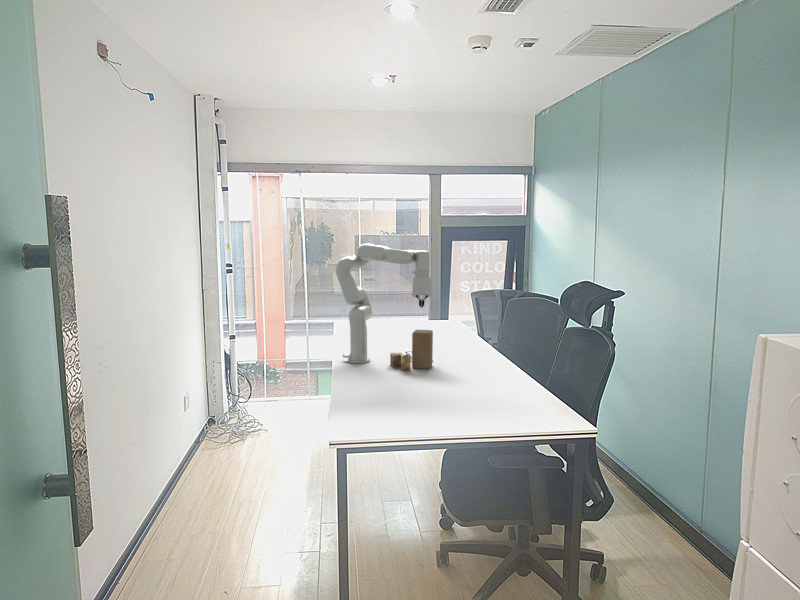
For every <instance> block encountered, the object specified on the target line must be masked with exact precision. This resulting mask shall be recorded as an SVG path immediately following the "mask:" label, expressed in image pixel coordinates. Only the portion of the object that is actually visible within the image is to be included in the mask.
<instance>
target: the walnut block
mask: <svg viewBox="0 0 800 600" xmlns="http://www.w3.org/2000/svg"><path fill="white" fill-rule="evenodd" d="M389 354H390V355H389V357H390V358H389V359H390V360H389V361H390V362H389V364H390V365H389V366H391V368H392V369H396V368H397V369H398V368H400V369H401V355H404V354H403V353H402V352H390V353H389Z"/></svg>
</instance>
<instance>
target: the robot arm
mask: <svg viewBox="0 0 800 600" xmlns="http://www.w3.org/2000/svg"><path fill="white" fill-rule="evenodd" d="M370 261H375V262H384V263H390V264H398V265H409V264H414V265H415V266H414V267H415V268H414V270H412V275H414V276H413V278H412V279H413V280H412V290H411V291H412V293H411V296H412V297H415V298H417V300H418V306H419V307H420V308H424V307H425V301H426V299H428V298H430V297H432V277H431V275H430V252H429V251H428V250H415V249H404V250H403V249H395V248H389V247H388V246H386V245H375V244H373V243H362V244H361V245H359V246H358V247H357V250H356V253H355V254H354V255H349V256H348V255H347V256H345V257H342V258H341V259H340V260H339V261H338V263H337V264H336V267H335V274H336V277H337V280H338V283H339V286H340V289H341V291H342V294H343V297H344V300H345V302H346V304H348V305H350V306H352V305H353V306H354V307H352V308H351V310H350V311H349V312H348V313H349V314H348V322H349V334H350V344H349V345H350V351H349V352H348V353H343V354H342V358H346V359H347V362H349V363H351V364H366V363H369V362H370V361H371V358H370V357H368V327H367V323H366V322H367V321H368V320H370V319H371V318H372V316H373V309H372V306H371V305H372V304H371V302H370V299H369V296H368V293H367V292H366V291H365V289H364V288H363V287H361V286H357V284H356V281H355V278H354V277H353V275H352V272H355V271H360V270H361V269H362V268H363V267H364V266H365V265H366V264H368V263H369V262H370ZM421 296H422V298H421Z"/></svg>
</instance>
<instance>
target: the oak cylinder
mask: <svg viewBox="0 0 800 600" xmlns="http://www.w3.org/2000/svg"><path fill="white" fill-rule="evenodd" d="M411 363H412V354H411V355H410V354H403V355H401V368H400V370H401V371H402V372H410V371H411Z"/></svg>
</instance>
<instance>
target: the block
mask: <svg viewBox="0 0 800 600" xmlns="http://www.w3.org/2000/svg"><path fill="white" fill-rule="evenodd" d="M411 335H412V337H411V339H412V340H411V343H412V345H411V367H412V369H418V370H422V369H423V370H430V369H431V367H432V366H433V351H434V350H433V340H434V339H433V338H434V337H433V335H434V334H433V330H432V329H415V330H414V331H413V332H412V334H411Z"/></svg>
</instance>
